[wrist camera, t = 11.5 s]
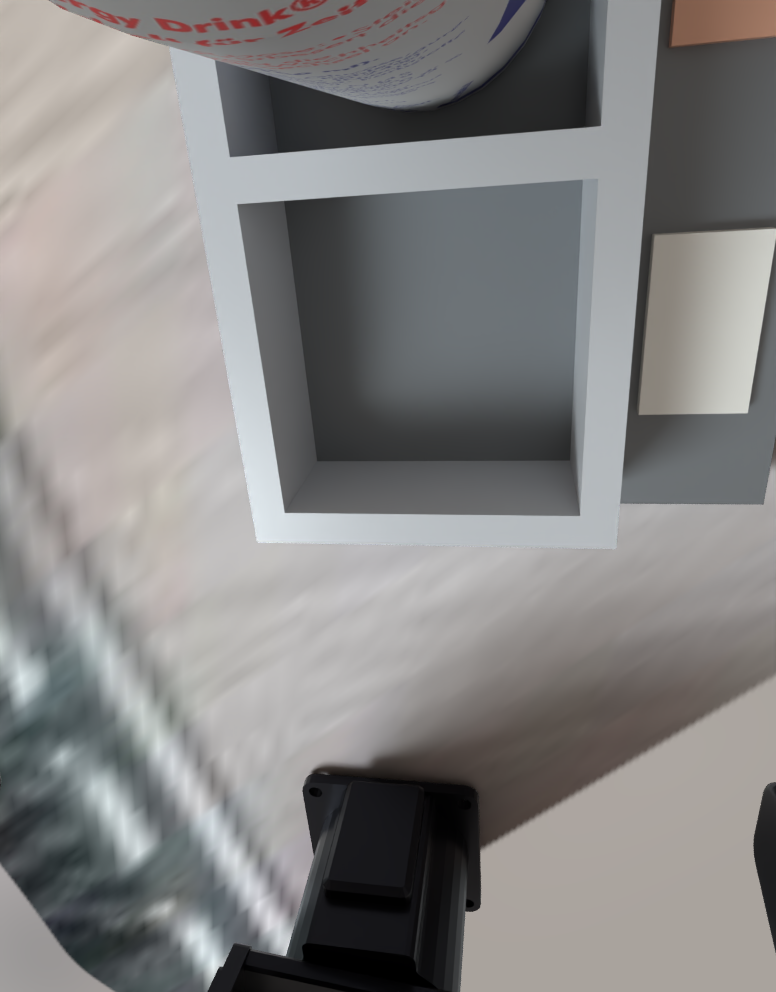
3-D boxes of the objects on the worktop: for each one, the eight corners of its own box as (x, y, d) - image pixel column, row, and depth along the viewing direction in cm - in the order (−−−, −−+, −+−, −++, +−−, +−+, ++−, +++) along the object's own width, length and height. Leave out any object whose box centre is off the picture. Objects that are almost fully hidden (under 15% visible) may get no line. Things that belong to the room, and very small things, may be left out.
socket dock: (745, 479, 19) (808, 568, 15) (279, 478, 21) (223, 556, 17) (896, -427, 11) (1100, -732, 7) (162, -278, 14) (20, -451, 10)
